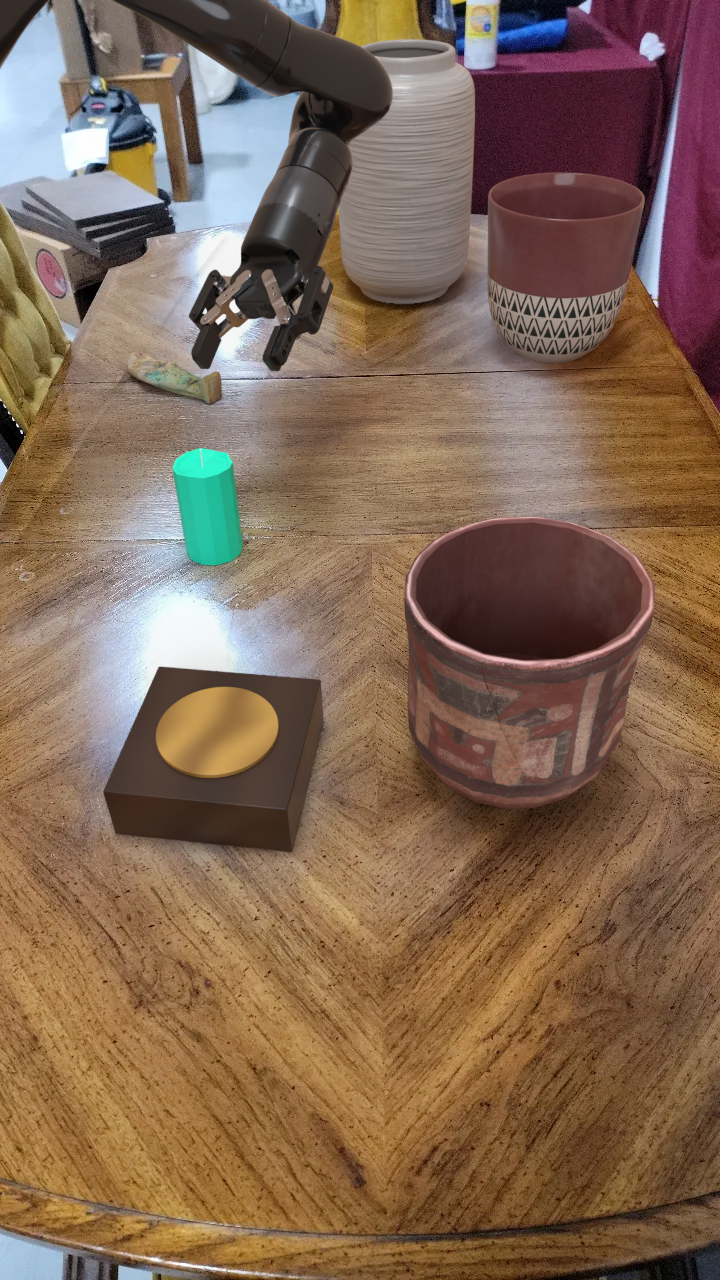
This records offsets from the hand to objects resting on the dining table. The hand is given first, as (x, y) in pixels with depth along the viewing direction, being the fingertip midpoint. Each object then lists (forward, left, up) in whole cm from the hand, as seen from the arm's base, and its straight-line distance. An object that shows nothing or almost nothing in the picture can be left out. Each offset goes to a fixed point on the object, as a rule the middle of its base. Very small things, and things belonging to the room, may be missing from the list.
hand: (234, 365), depth 94 cm
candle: (-4, -3, -20) cm, 20 cm away
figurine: (-19, +33, -20) cm, 43 cm away
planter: (+31, +48, -20) cm, 61 cm away
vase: (+8, +71, -20) cm, 74 cm away
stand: (+5, -34, -20) cm, 40 cm away
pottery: (+28, -29, -20) cm, 45 cm away
